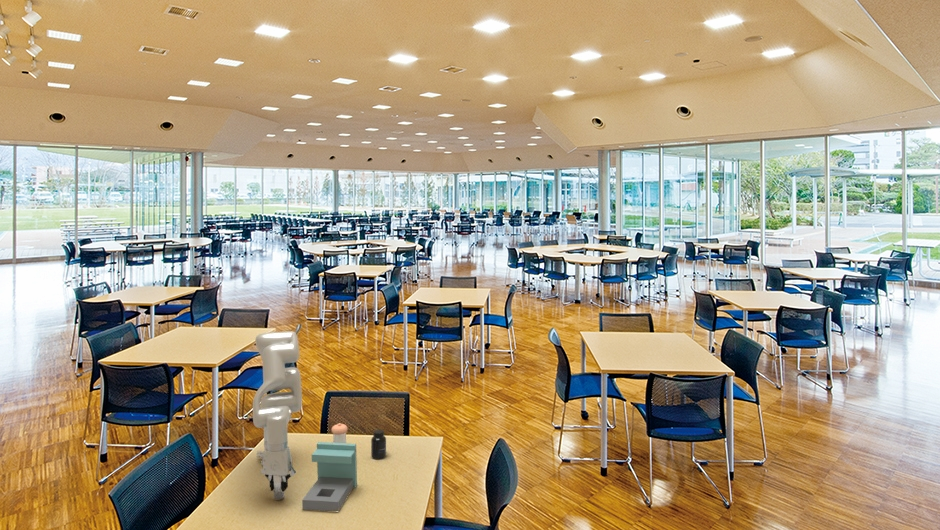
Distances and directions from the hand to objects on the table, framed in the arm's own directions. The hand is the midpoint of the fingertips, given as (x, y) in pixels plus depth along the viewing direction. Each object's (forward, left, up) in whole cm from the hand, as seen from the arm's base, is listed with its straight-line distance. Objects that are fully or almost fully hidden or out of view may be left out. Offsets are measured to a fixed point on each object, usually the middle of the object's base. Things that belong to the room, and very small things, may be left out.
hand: (278, 488), depth 210 cm
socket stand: (+19, +4, -4) cm, 20 cm away
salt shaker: (+14, +31, -4) cm, 34 cm away
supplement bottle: (+29, +41, -4) cm, 50 cm away
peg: (0, 0, -3) cm, 3 cm away
